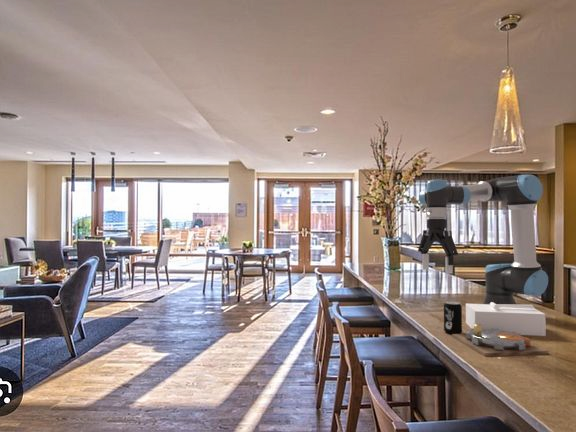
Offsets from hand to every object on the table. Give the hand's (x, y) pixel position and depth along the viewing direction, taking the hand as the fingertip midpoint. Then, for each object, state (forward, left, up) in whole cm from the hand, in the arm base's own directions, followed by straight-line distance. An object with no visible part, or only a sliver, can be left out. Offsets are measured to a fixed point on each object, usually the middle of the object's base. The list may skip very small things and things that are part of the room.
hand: (436, 271), depth 152 cm
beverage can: (-5, +2, -24) cm, 25 cm away
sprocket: (-13, +17, -23) cm, 32 cm away
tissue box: (-28, -1, -25) cm, 37 cm away
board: (-13, +17, -24) cm, 32 cm away
